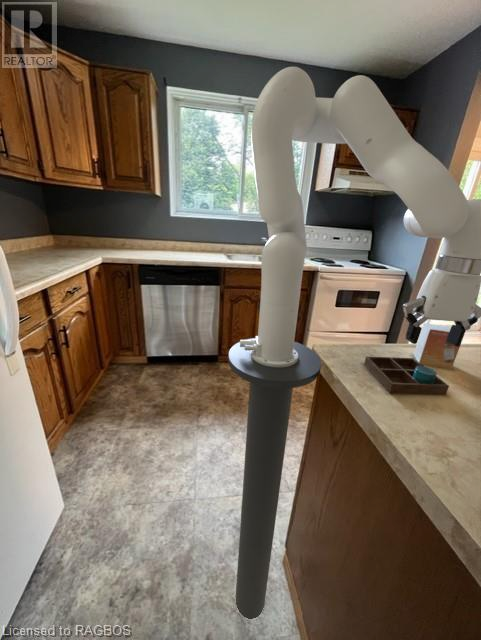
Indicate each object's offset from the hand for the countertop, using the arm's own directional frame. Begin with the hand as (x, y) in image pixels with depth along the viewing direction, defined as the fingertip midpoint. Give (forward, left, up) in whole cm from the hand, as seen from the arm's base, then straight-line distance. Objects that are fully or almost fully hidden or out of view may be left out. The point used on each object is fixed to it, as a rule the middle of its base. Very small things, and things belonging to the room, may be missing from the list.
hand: (431, 342), depth 61 cm
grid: (-2, +3, -11) cm, 12 cm away
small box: (+12, +12, -11) cm, 20 cm away
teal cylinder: (+1, 0, -11) cm, 11 cm away
